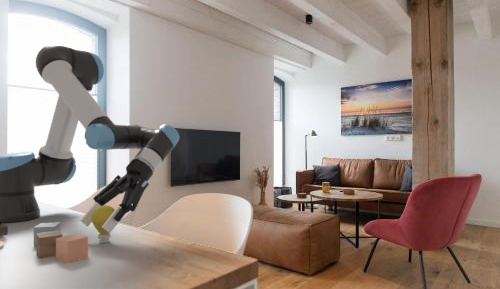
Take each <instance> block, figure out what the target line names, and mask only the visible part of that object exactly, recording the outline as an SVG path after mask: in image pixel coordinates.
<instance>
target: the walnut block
mask: <svg viewBox="0 0 500 289" xmlns="http://www.w3.org/2000/svg"><path fill="white" fill-rule="evenodd" d="M60 237H63V234H62V232H61V230H60V231H59V230H58V231H50V232H43V233H36V246H35V247H36V255H37V258H38V259H44V258H51V257H56V238H60Z"/></svg>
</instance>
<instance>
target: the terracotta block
mask: <svg viewBox="0 0 500 289" xmlns="http://www.w3.org/2000/svg"><path fill="white" fill-rule="evenodd" d="M85 257H87V258H89V236H87V235H83V234H81V233H74V234H69V235H66V236H62V237H60V238H56V256H55V260H58V261H61V262H63V263H65V264H70V263H74V262H76V260H77V261H79V259H80V260H83V259H86V258H85ZM82 258H83V259H82Z"/></svg>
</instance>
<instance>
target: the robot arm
mask: <svg viewBox="0 0 500 289" xmlns="http://www.w3.org/2000/svg"><path fill="white" fill-rule="evenodd" d="M35 67H36V71H37V72H38V74H39V76H40V77H41V79H43V81H44V82H45V83H47V84H49V85H51V86H52V87H53V88H54V90H55V91H56V92H57V94H58V97H57V102H56V104H55V109H54V112H53V116H52V120H51V123H50V127H49V131H48V135H47V138H46V141H45V145H43V146H41V147H40V148H39V150H38V154H37V155H35V153H34V151H20V152H12V153H5V154H2V155H0V222H1V223H0V224H3V223H5V224H8V223H17V222H25V221H30V220H33V219H38V218H39V217H40V216H41V209H40V206H39V204H38V201H37V198H36V195H35V187H42V186H51V185H52V186H53V185H61V184H64V183H67V182H69V181H70V180H72V178H74V176H75V173H76V171H77V164H76V163H77V162H76V159H75V158H74V154H73V152H72V151H71V148H72V145H73V141H74V138H75V135H76V134H75V133H76V130H77V126H78V125H79V124H78V123H80V124H81V125H82V126H83V128H84V129H85V130H84V131H85V132H84V140H85V143H86V145H87V146H88V147H89V148H90V149H92V150H99V151H101V150H102V151H107V150H108V151H109V150H134V149H135V150H138V152H137V153H136V155H135V156H134V157H133V159H131V161H130V162H129V163H128V164H127V165H126V167H125V171H126V173H125V174H124V175H122V176H120V175H119V174H118V175H116V177H114V179H113V180H112V181H110V182H109V184H107V185H106V186H105V187H104V188H103V189H102V190H100V191H99V192H98V193H97V194H96V195H95V196H94V197H93V201H94V203H93V205H92V206H90V208H89V209H88V211H87V212H86V213H85V214H84V215H83V216H82V218H80V219H79V221H80V222H81V223H82V224H83V225H85V227H89V226H90V225H91V224H92V221H91V216H92V213H93V212H94V210H95V209H96V208H98V207H100V206H103V205H106V204H108V203H109V202H110V201H111V200H113V199H114V198H116V197H117V196H118V195H120V194H121V195H122V194H123V193H124V195H123V198H122V201H121V203H119V204H118V206H117V207H116V208H115V211H114V212H113V213H112V215H111V216H110V217H109V218H108V220H107V221H106V222H105V223H104V225H103V226H102V228H103V229H104V230H106V231H107V232H108V233H112V231H113V230H114V229H115V228H116V227H117V225H118V223H119V222H120V221H121V220H122V219H123V217H124V216H125V215H126V214H127V213H129V212H134V211H135V210H136V209H137V207H138V204H139V203H140V200H141V198H142V196H143V194H144V192H145V190H146V189H147V187H148V186H149V185H150V183H149V182H148V181H149V180H150V179H151V177H153V175H154V173H155V172H156V171H157V170H158V169H159V167H160V165H161V164H162V163H163V162H164V160H165V159H166V158H167V157H168V155H169V154H170V153H171V152H172V150H173V149H175V147H176V145H177V144H178V142H179V141H180V138H181V137H180V134H179V131H178V130H176V128H174V126H172V125H170V124H167V123H165V124H161V125H160V126H159V127H158V128H157V129H154V128H149V127H145V126H141V125H138V124H134V123H133V124H131V123H128V124H125V125H122V124H116V123H114V122H113V120H111V118H110V117H109V116H108V115H107V113H106V112H105V111H104V110H103V109H102V107H101V106H100V105H99V104H98V102H97V101H96V100H95V98H94V97H93V96H92V95H91V94H90V92H91V91H92V90H93V88H94V85H95V86H96V85H97V84H100V82H102V80H103V78H104V74H105V67H104V64H103V62H102V59H101V57H100V56H98V55H97V54H96V53H93V52H92V51H89V50H85V49H81V48H77V47H73V46H68V45H65V44H61V43H52V44H51V43H50V44H48V45H45V46H44V47H42V48H41V49H40V50H39V51H38V52H37V55H36V57H35Z"/></svg>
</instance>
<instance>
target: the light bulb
mask: <svg viewBox="0 0 500 289" xmlns="http://www.w3.org/2000/svg"><path fill="white" fill-rule="evenodd" d="M115 210H116V208H114V207H113V206H111V205H106V204H105V205H103V206H100V207H98V208H96V209H95V210H94V212H93V213H92V216H91V221H92V222H91V224H92V225H93V226H94V228H95V229H96V231H97V232H98V233H99V234H97V238H98V239H99V243H100V244H101V243H103V244H106V243H109V242H110V239H111V238H112V236H111V235H112V234H111V233H112V232H111V233H108V232H107V231H106V230H104V229H103V228H102V226H103V225H104V223H105V222H106V221H107V220H108V218H109V217H110V216H111V215H112V213H113V212H114V211H115Z"/></svg>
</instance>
